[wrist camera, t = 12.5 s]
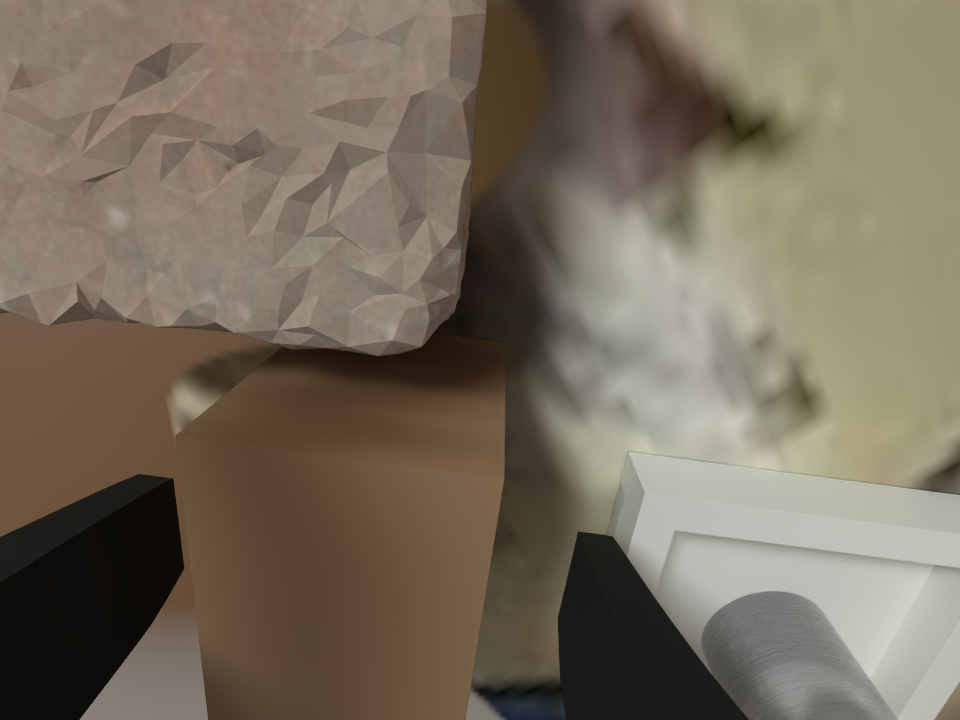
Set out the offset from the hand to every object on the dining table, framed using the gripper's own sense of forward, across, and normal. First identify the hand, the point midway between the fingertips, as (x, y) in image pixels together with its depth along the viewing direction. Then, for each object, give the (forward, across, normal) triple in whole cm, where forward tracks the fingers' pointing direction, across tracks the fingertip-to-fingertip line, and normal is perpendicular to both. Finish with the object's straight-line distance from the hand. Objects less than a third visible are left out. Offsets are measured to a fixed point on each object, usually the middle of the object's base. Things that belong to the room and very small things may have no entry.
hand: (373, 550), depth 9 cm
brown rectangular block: (+3, 0, 0) cm, 3 cm away
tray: (+3, -9, +3) cm, 10 cm away
